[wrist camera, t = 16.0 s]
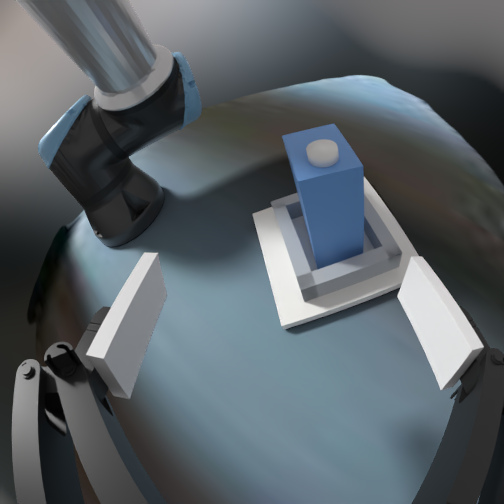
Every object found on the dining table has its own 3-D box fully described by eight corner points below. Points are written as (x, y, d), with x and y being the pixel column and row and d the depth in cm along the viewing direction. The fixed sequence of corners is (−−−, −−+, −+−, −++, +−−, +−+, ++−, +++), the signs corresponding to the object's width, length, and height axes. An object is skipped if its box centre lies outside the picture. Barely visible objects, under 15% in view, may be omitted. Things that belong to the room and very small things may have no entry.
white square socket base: (254, 218, 37) (246, 200, 34) (364, 182, 35) (363, 162, 32) (283, 329, 27) (275, 316, 24) (425, 276, 25) (433, 257, 22)
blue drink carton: (304, 221, 33) (279, 126, 23) (344, 211, 32) (332, 114, 22) (317, 270, 28) (295, 170, 18) (363, 258, 27) (362, 155, 17)
